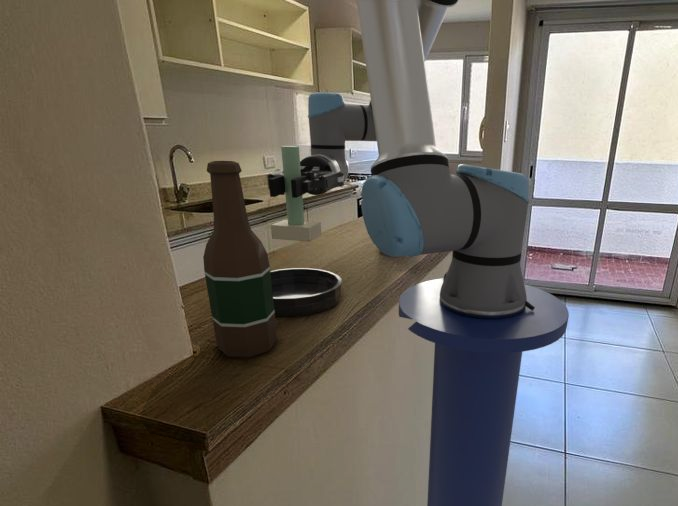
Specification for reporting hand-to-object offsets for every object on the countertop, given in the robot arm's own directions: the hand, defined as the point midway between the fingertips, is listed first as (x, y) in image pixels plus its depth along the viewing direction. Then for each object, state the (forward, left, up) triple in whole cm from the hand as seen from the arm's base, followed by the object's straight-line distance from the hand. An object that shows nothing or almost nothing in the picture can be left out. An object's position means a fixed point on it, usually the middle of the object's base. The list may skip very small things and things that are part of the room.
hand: (282, 188), depth 70 cm
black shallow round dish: (0, 0, -19) cm, 19 cm away
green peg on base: (+1, -5, -9) cm, 11 cm away
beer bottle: (-2, +18, -19) cm, 26 cm away
